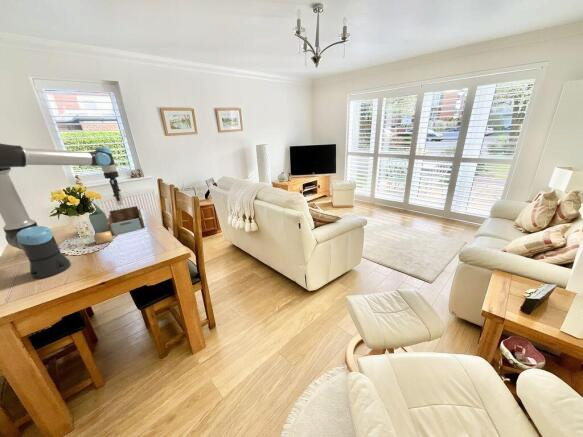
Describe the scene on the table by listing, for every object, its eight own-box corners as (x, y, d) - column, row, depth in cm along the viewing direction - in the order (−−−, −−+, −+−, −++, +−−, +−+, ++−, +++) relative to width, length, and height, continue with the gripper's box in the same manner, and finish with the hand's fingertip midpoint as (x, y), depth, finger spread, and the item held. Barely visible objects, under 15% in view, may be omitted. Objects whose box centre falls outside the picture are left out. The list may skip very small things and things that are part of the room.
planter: (91, 231, 173) (77, 207, 165) (103, 226, 179) (90, 202, 170) (101, 235, 165) (87, 209, 156) (113, 230, 171) (100, 204, 162)
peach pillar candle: (97, 246, 148) (93, 236, 145) (98, 242, 154) (94, 232, 151) (113, 243, 152) (109, 233, 149) (113, 238, 158) (109, 229, 155)
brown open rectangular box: (111, 236, 161) (105, 220, 156) (112, 226, 178) (107, 211, 173) (145, 229, 171) (140, 213, 166) (143, 220, 188) (138, 205, 183)
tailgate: (114, 235, 160) (110, 224, 157) (114, 234, 161) (110, 223, 158) (141, 229, 168) (138, 218, 165) (141, 228, 169) (138, 218, 166)
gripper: (116, 173, 147) (126, 206, 155) (117, 168, 166) (126, 197, 174) (101, 175, 144) (113, 208, 152) (104, 169, 162) (114, 199, 171)
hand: (120, 202), depth 163 cm, fingers open, 12 cm apart
